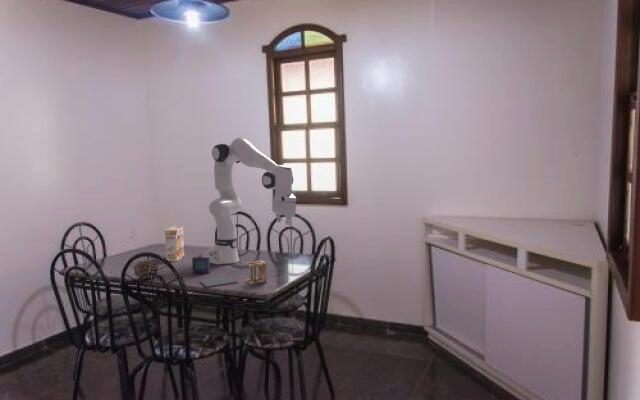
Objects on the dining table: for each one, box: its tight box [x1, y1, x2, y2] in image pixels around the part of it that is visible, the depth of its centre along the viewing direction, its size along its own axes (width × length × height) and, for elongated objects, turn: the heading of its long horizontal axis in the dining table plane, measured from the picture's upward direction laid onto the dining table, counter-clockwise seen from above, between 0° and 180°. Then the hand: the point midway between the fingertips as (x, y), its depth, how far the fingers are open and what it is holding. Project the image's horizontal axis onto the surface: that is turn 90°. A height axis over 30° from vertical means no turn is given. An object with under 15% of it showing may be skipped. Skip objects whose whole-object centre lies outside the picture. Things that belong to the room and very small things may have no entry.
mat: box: [199, 276, 238, 289], centre depth 237 cm, size 16×11×1 cm
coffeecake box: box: [164, 225, 185, 263], centre depth 288 cm, size 15×7×20 cm, turn 179°
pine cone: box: [133, 259, 168, 280], centre depth 248 cm, size 22×10×10 cm, turn 148°
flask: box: [191, 253, 211, 275], centre depth 255 cm, size 9×3×11 cm, turn 95°
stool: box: [245, 260, 267, 285], centre depth 237 cm, size 9×6×10 cm, turn 121°
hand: (282, 223), depth 243 cm, fingers open, 8 cm apart
